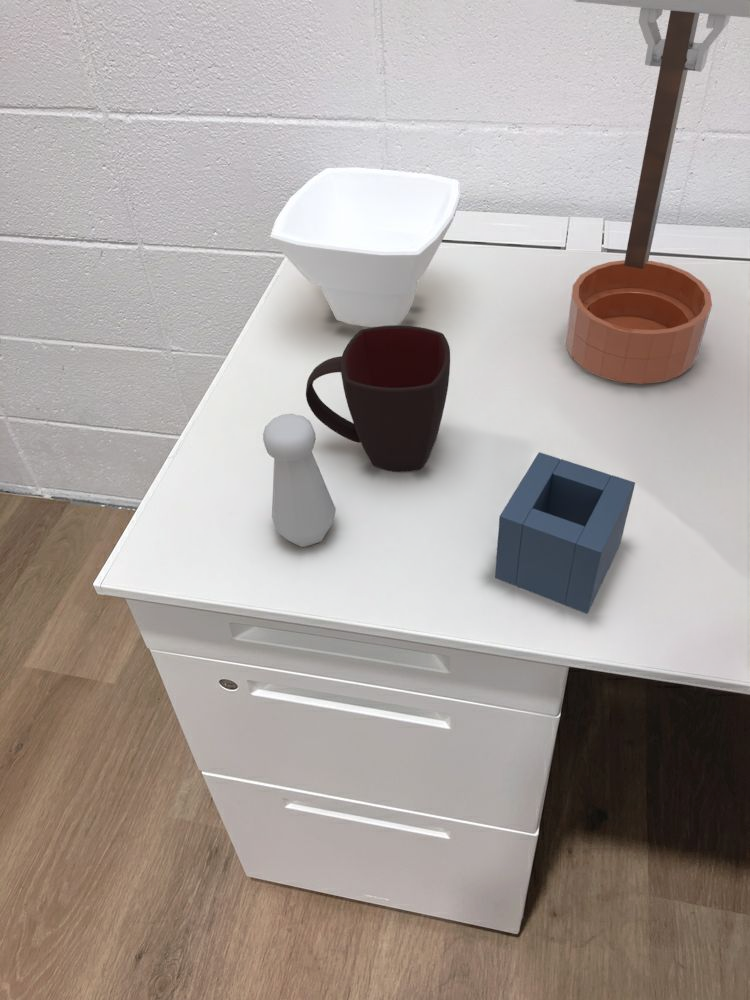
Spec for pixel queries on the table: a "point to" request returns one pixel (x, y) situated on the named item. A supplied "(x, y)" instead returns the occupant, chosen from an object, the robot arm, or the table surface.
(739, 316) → the table surface
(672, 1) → the robot arm
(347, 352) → the mug
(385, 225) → the bowl
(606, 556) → the box
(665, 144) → the stirring stick
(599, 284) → the terracotta round dish
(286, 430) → the salt shaker
